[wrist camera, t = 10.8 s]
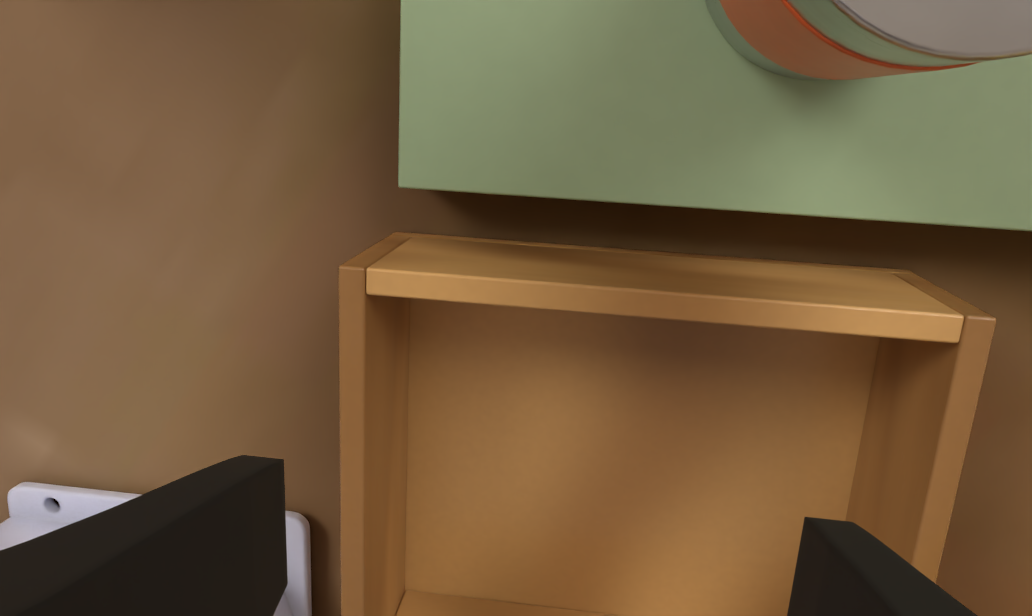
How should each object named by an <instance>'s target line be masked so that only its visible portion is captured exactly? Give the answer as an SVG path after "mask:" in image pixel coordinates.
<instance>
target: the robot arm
mask: <svg viewBox="0 0 1032 616" xmlns="http://www.w3.org/2000/svg"><path fill="white" fill-rule="evenodd" d="M53 498H54V499H56V500H57V501H58V502H59V505H60V506H58V505H57V504H56V503H55V502H54V500H53ZM7 500H8V507H9V515H10V518H8V519H7V520H5V521H4V522H2V523H1V524H0V616H312V598H311V547H310V526H309V522H308V521H307V519H306V518H305V517H304V516H303V515H301V514H300V513H297V512H293V511H285V485H284V459H275V458H266V457H256V456H247V455H242V456H238V457H235V458H231V459H228V460H225V461H222V462H220V463H217V464H215V465H212V466H209V467H207V468H204V469H202V470H200V471H197V472H195V473H192V474H190V475H188V476H185V477H183V478H181V479H178V480H176V481H174V482H171V483H169V484H167V485H164V486H162V487H159V488H157V489H155V490H152V491H150V492H148V493H145V494H143V495H141V494H132V493H124V492H115V491H106V490H97V489H88V488H79V487H70V486H61V485H52V484H43V483H34V482H22V483H20V484H18V485H17V486H15V487H14V488H12V489H11V490H10V491H9V493H8V498H7ZM787 616H977V615H976V614H974V613H973V612H972V611H970V610H969V609H968V608H966V607H965V606H964V605H962V604H961V603H960V602H959V601H957V600H956V599H955V598H953V597H952V596H951V595H949V594H948V593H947V592H945V591H944V590H943V589H942V588H940V587H939V586H938V585H936V584H935V583H934V582H933V581H931V580H930V579H929V578H927V577H926V576H925V575H924V574H922V573H921V572H920V571H918V570H917V569H916V568H915V567H913V566H912V565H911V564H909V563H908V562H907V561H906V560H904V559H903V558H902V557H900V556H899V555H898V554H897V553H895V552H894V551H893V550H891V549H890V548H889V547H888V546H886V545H885V544H884V543H882V542H881V541H880V540H878V539H877V538H876V537H874V536H873V535H872V534H870V533H869V532H867V531H866V530H864V529H863V528H861V527H860V526H858V525H857V524H855V523H854V522H849V521H840V520H831V519H822V518H813V517H805V518H804V523H803V529H802V534H801V540H800V546H799V551H798V557H797V563H796V568H795V574H794V579H793V585H792V591H791V596H790V602H789V608H788V613H787Z"/></svg>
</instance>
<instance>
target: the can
mask: <svg viewBox="0 0 1032 616" xmlns="http://www.w3.org/2000/svg"><path fill="white" fill-rule="evenodd" d="M705 2H706V5H707V8H708V11H709V13H710V15H711V17H712V19H713V21H714V23H715V25H716V26H717V28H718V29H719V30H720V32H721V33H722V35H723V36H724V38H725V39H726V40H727V41H728V42H729V43H730V44H731V45H732V46H733V48H734V49H735V50H736V51H738V52H739V53H740V54H741V55H743V56H744V57H745V58H746V59H748V60H749V61H751V62H752V63H754V64H756V65H757V66H759V67H761V68H763V69H765V70H767V71H770V72H772V73H775V74H777V75H781V76H785V77H789V78H794V79H802V80H829V79H831V80H852V79H862V78H871V77H881V76H890V75H900V74H909V73H919V72H928V71H937V70H945V69H952V68H959V67H965V66H969V65H973V64H976V63H980V62H984V61H992V60H999V59H1006V58H1013V57H1020V56H1026V55H1029V54H1032V0H705Z"/></svg>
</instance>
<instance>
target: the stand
mask: <svg viewBox="0 0 1032 616" xmlns="http://www.w3.org/2000/svg"><path fill="white" fill-rule="evenodd" d="M398 186H399V187H400V188H409V189H424V190H438V191H453V192H467V193H482V194H496V195H511V196H525V197H540V198H555V199H569V200H584V201H598V202H613V203H627V204H642V205H656V206H671V207H685V208H700V209H714V210H729V211H743V212H758V213H773V214H787V215H802V216H816V217H831V218H845V219H860V220H874V221H889V222H903V223H918V224H932V225H947V226H962V227H976V228H991V229H1005V230H1020V231H1032V54H1029V55H1026V56H1020V57H1013V58H1006V59H999V60H992V61H984V62H980V63H976V64H973V65H969V66H965V67H959V68H952V69H945V70H937V71H928V72H919V73H909V74H900V75H890V76H881V77H871V78H862V79H852V80H831V79H829V80H802V79H794V78H789V77H785V76H781V75H777V74H775V73H772V72H770V71H767V70H765V69H763V68H761V67H759V66H757V65H756V64H754V63H752V62H751V61H749V60H748V59H746V58H745V57H744V56H743V55H741V54H740V53H739V52H738V51H736V50H735V49H734V48H733V46H732V45H731V44H730V43H729V42H728V41H727V40H726V39H725V38H724V36H723V35H722V33H721V32H720V30H719V29H718V28H717V26H716V25H715V23H714V21H713V19H712V17H711V15H710V13H709V11H708V8H707V5H706V2H705V0H401V10H400V84H399V159H398Z"/></svg>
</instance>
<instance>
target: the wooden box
mask: <svg viewBox="0 0 1032 616" xmlns="http://www.w3.org/2000/svg"><path fill="white" fill-rule="evenodd" d="M338 274H339V405H340V537H341V616H787V613H788V608H789V602H790V596H791V591H792V585H793V579H794V574H795V568H796V563H797V557H798V551H799V546H800V540H801V534H802V529H803V523H804V518H805V517H813V518H822V519H831V520H840V521H849V522H854V523H855V524H857V525H858V526H860V527H861V528H863V529H864V530H866V531H867V532H869V533H870V534H872V535H873V536H874V537H876V538H877V539H878V540H880V541H881V542H882V543H884V544H885V545H886V546H888V547H889V548H890V549H891V550H893V551H894V552H895V553H897V554H898V555H899V556H900V557H902V558H903V559H904V560H906V561H907V562H908V563H909V564H911V565H912V566H913V567H915V568H916V569H917V570H918V571H920V572H921V573H922V574H924V575H925V576H926V577H927V578H929V579H930V580H931V581H933V582H934V583H936V579H937V575H938V571H939V566H940V562H941V558H942V553H943V549H944V545H945V540H946V536H947V532H948V527H949V523H950V519H951V515H952V510H953V506H954V502H955V497H956V493H957V489H958V484H959V480H960V476H961V471H962V467H963V463H964V459H965V454H966V450H967V446H968V441H969V437H970V433H971V428H972V424H973V420H974V415H975V411H976V407H977V403H978V398H979V394H980V390H981V385H982V381H983V377H984V372H985V368H986V364H987V359H988V355H989V351H990V347H991V342H992V338H993V334H994V329H995V325H996V318H995V317H993V316H991V315H989V314H987V313H985V312H984V311H982V310H980V309H978V308H976V307H974V306H973V305H971V304H969V303H967V302H965V301H963V300H962V299H960V298H958V297H956V296H954V295H952V294H950V293H949V292H947V291H945V290H943V289H941V288H939V287H938V286H936V285H934V284H932V283H930V282H928V281H927V280H925V279H923V278H921V277H919V276H917V275H915V274H914V273H912V272H911V271H909V270H902V269H888V268H875V267H861V266H848V265H835V264H821V263H808V262H794V261H781V260H767V259H754V258H741V257H727V256H714V255H700V254H687V253H673V252H660V251H647V250H633V249H620V248H606V247H593V246H579V245H566V244H553V243H539V242H526V241H512V240H499V239H486V238H472V237H459V236H445V235H432V234H418V233H405V232H394V233H393V234H391V235H390V236H388V237H387V238H385V239H383V240H382V241H380V242H378V243H377V244H375V245H373V246H372V247H370V248H368V249H367V250H365V251H363V252H362V253H360V254H358V255H357V256H355V257H353V258H352V259H350V260H348V261H347V262H345V263H343V264H342V265H340V266H339V268H338Z"/></svg>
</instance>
